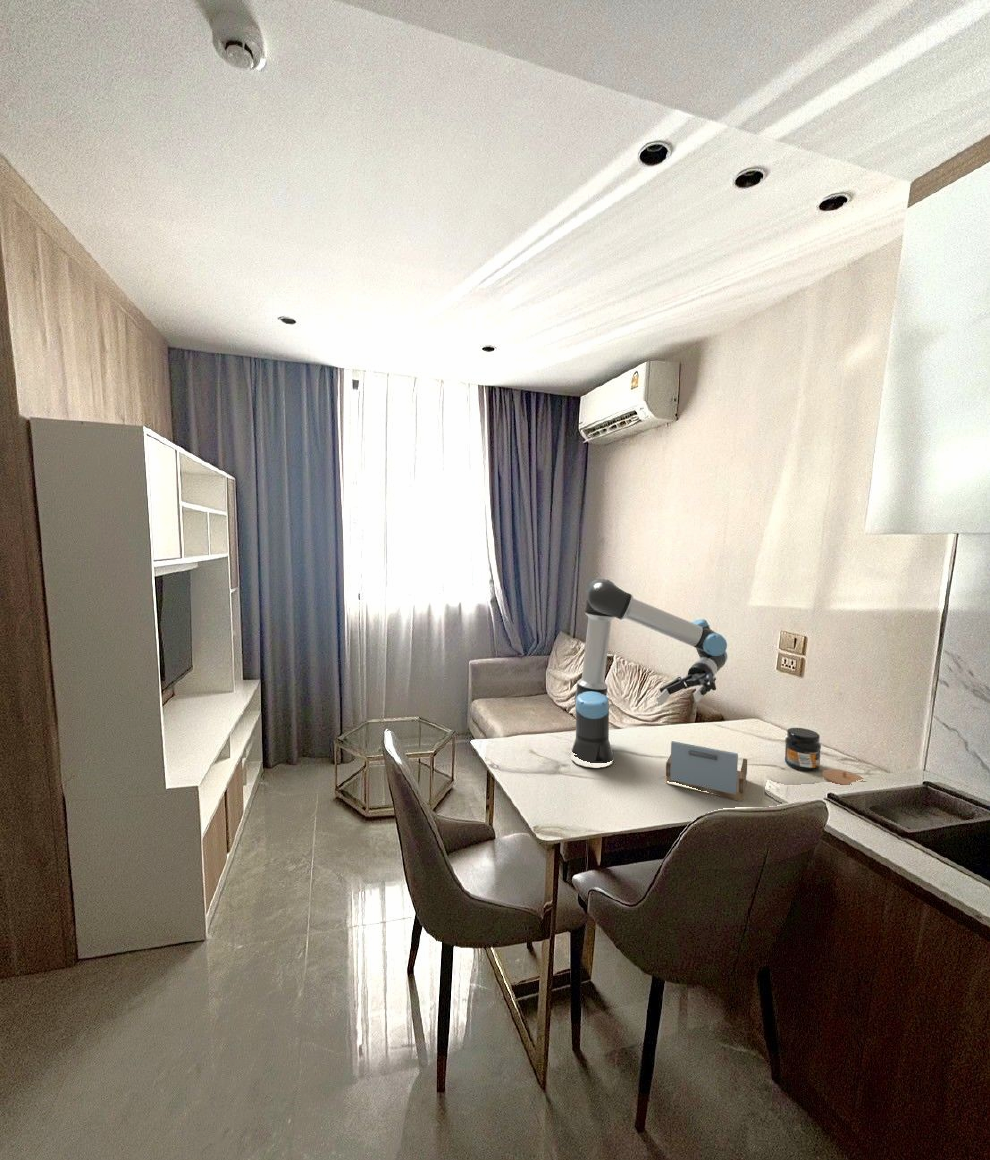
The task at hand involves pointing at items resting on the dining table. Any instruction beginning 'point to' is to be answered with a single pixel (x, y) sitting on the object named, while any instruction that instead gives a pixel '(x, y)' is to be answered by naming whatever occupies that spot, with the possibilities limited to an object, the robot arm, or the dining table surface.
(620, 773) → the dining table surface
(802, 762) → the supplement container
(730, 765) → the tailgate
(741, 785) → the cart bed
